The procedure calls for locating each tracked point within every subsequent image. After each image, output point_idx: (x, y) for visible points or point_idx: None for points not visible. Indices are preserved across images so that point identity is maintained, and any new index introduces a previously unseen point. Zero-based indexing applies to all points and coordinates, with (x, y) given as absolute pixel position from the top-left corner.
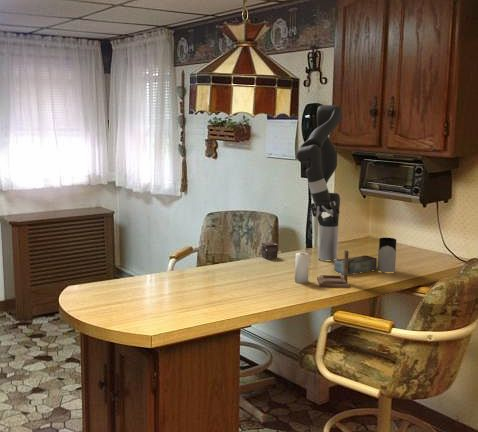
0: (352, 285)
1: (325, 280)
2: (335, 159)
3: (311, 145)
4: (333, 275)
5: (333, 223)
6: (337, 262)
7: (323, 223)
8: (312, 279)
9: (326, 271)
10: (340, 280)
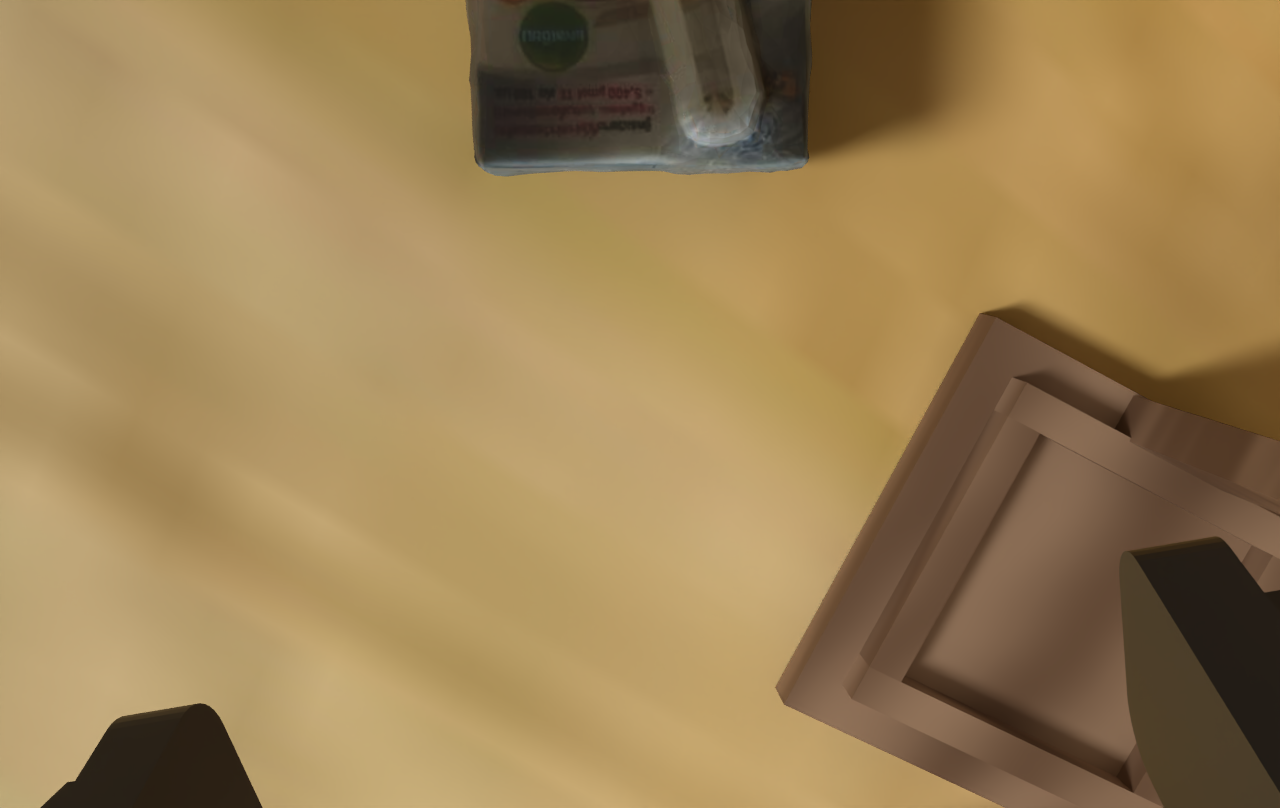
0: (1265, 388)
1: (1020, 702)
2: None
3: None
4: (962, 518)
5: (1159, 797)
6: (591, 169)
7: (208, 746)
8: (754, 750)
9: (426, 287)
10: (1119, 496)
